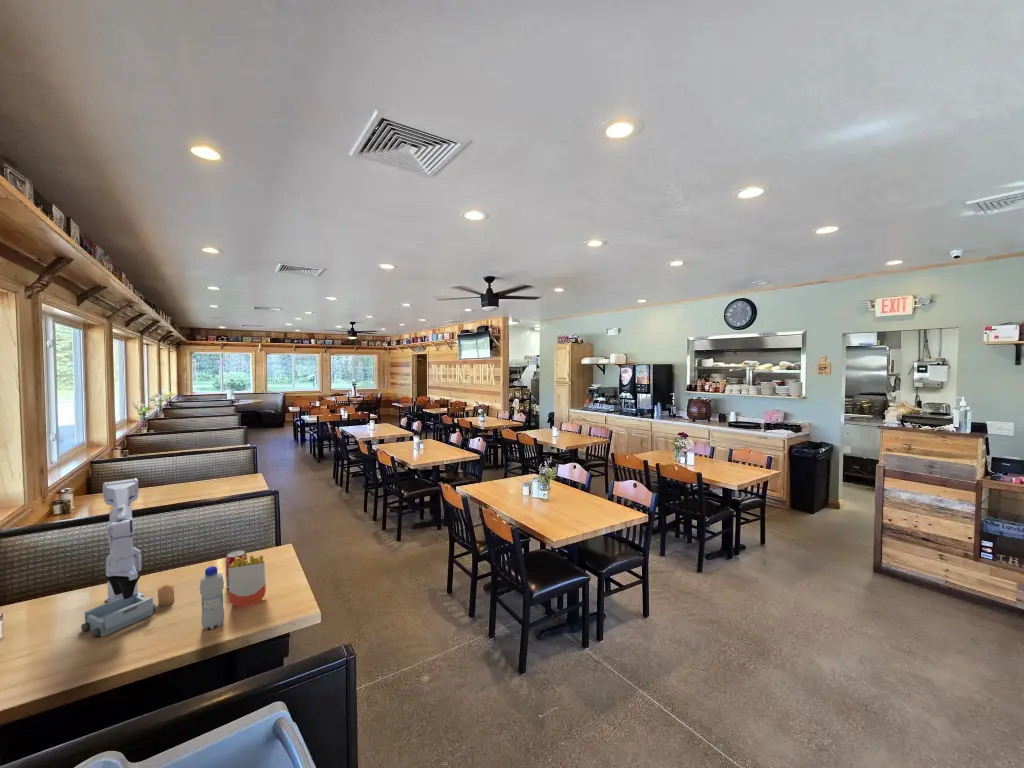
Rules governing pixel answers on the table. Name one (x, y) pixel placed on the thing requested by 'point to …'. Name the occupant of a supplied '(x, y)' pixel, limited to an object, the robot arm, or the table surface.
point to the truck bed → (96, 615)
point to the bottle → (212, 598)
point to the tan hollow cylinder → (166, 595)
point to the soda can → (231, 559)
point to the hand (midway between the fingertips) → (123, 595)
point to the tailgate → (128, 613)
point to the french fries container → (247, 581)
